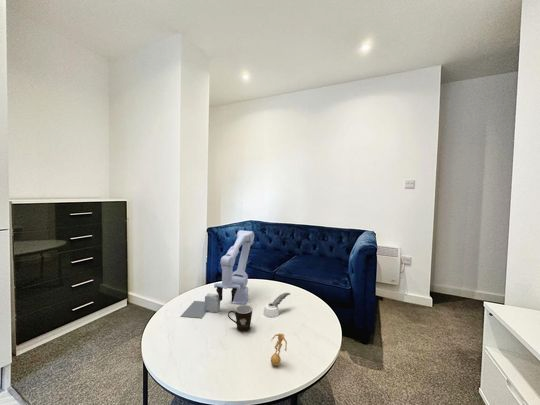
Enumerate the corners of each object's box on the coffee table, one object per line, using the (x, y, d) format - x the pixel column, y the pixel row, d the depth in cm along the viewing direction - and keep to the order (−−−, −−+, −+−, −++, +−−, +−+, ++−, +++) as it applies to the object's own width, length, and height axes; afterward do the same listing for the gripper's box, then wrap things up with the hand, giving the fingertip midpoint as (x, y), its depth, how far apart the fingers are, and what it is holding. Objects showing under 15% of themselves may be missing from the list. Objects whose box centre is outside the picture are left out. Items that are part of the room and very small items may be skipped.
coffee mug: (255, 326, 120) (255, 307, 120) (246, 335, 113) (247, 315, 112) (235, 320, 125) (236, 302, 125) (226, 328, 117) (226, 309, 117)
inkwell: (260, 311, 135) (260, 294, 134) (284, 304, 145) (285, 288, 144) (269, 319, 127) (269, 301, 127) (294, 310, 137) (295, 293, 137)
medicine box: (220, 308, 137) (220, 294, 136) (217, 312, 132) (218, 297, 132) (206, 307, 137) (207, 292, 137) (204, 311, 133) (204, 296, 133)
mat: (213, 302, 144) (213, 302, 144) (201, 318, 126) (201, 317, 126) (194, 301, 145) (194, 300, 145) (180, 316, 127) (180, 316, 127)
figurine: (264, 361, 96) (265, 332, 95) (275, 354, 100) (276, 326, 100) (279, 373, 90) (280, 342, 89) (290, 365, 94) (291, 336, 93)
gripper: (212, 278, 130) (212, 302, 130) (238, 280, 128) (237, 304, 129) (216, 274, 137) (216, 297, 137) (241, 275, 135) (240, 299, 136)
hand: (226, 300), depth 134 cm, fingers open, 6 cm apart
